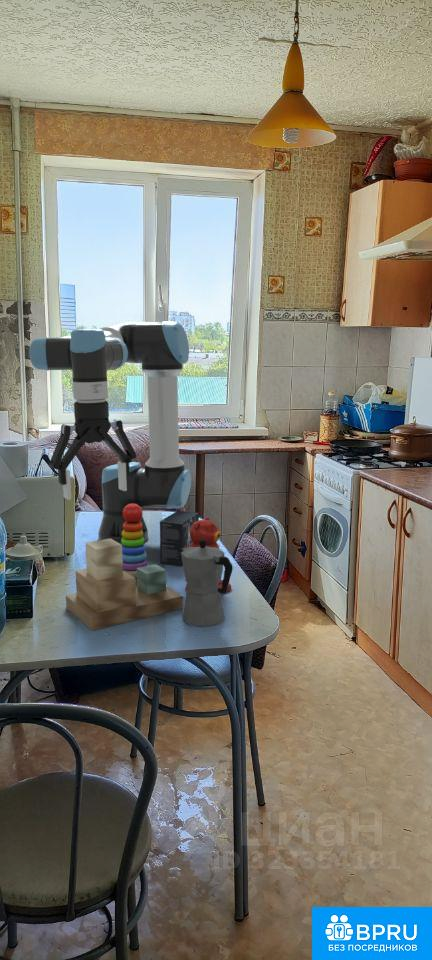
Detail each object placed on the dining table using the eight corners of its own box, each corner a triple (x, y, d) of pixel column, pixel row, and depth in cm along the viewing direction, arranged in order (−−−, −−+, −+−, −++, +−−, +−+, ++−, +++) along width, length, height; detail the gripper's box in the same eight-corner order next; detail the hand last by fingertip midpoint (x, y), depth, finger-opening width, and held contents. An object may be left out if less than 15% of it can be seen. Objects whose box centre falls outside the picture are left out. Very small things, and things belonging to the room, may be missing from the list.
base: (152, 588, 170) (151, 553, 168) (183, 608, 158) (182, 570, 156) (66, 607, 158) (64, 570, 156) (92, 630, 146) (90, 589, 144)
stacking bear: (210, 602, 161) (210, 528, 158) (175, 594, 166) (173, 522, 163) (234, 588, 170) (234, 517, 167) (200, 581, 175) (199, 512, 172)
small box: (182, 566, 187) (182, 523, 184) (159, 564, 189) (158, 521, 187) (199, 552, 199) (199, 511, 197) (177, 550, 201) (176, 510, 199)
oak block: (111, 568, 158) (110, 538, 156) (123, 575, 153) (121, 544, 151) (86, 572, 155) (85, 542, 153) (97, 580, 150) (96, 549, 148)
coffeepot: (167, 615, 154) (165, 537, 150) (199, 604, 160) (198, 529, 156) (215, 637, 142) (214, 552, 139) (247, 624, 149) (247, 543, 145)
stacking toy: (143, 580, 176) (141, 508, 172) (113, 578, 178) (110, 507, 174) (152, 570, 184) (150, 501, 180) (123, 568, 185) (121, 500, 182)
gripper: (42, 406, 143) (49, 505, 148) (149, 398, 157) (152, 489, 162) (30, 403, 150) (36, 498, 154) (133, 395, 163) (136, 483, 168)
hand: (95, 494), depth 158 cm, fingers open, 13 cm apart
